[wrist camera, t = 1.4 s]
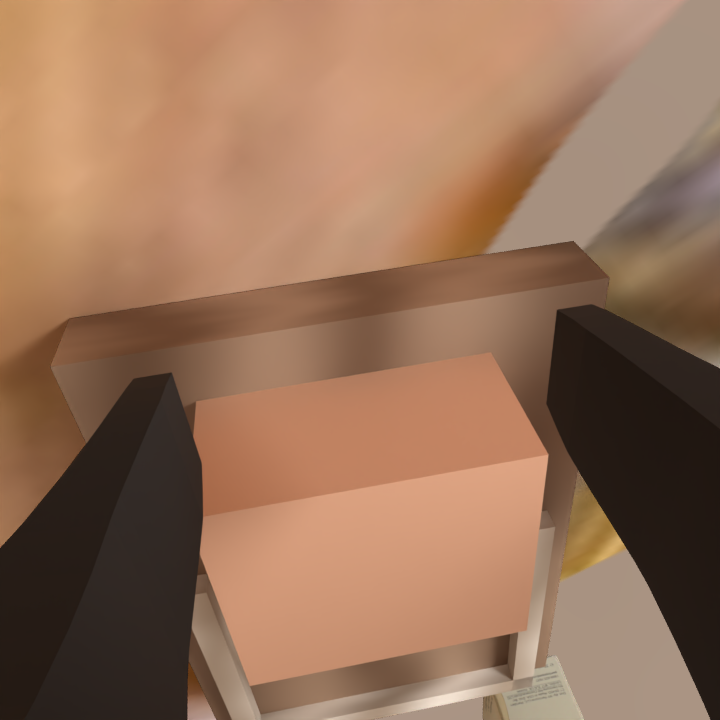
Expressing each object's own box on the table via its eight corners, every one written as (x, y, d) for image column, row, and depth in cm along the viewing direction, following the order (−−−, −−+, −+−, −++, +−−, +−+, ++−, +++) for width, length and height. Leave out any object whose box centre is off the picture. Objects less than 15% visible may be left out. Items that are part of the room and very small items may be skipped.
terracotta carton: (491, 352, 20) (548, 454, 16) (483, 521, 24) (526, 630, 21) (196, 401, 19) (186, 519, 15) (247, 566, 24) (249, 686, 20)
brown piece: (573, 241, 21) (622, 291, 18) (526, 621, 34) (551, 682, 31) (69, 318, 19) (43, 384, 17) (223, 681, 33) (222, 750, 30)
